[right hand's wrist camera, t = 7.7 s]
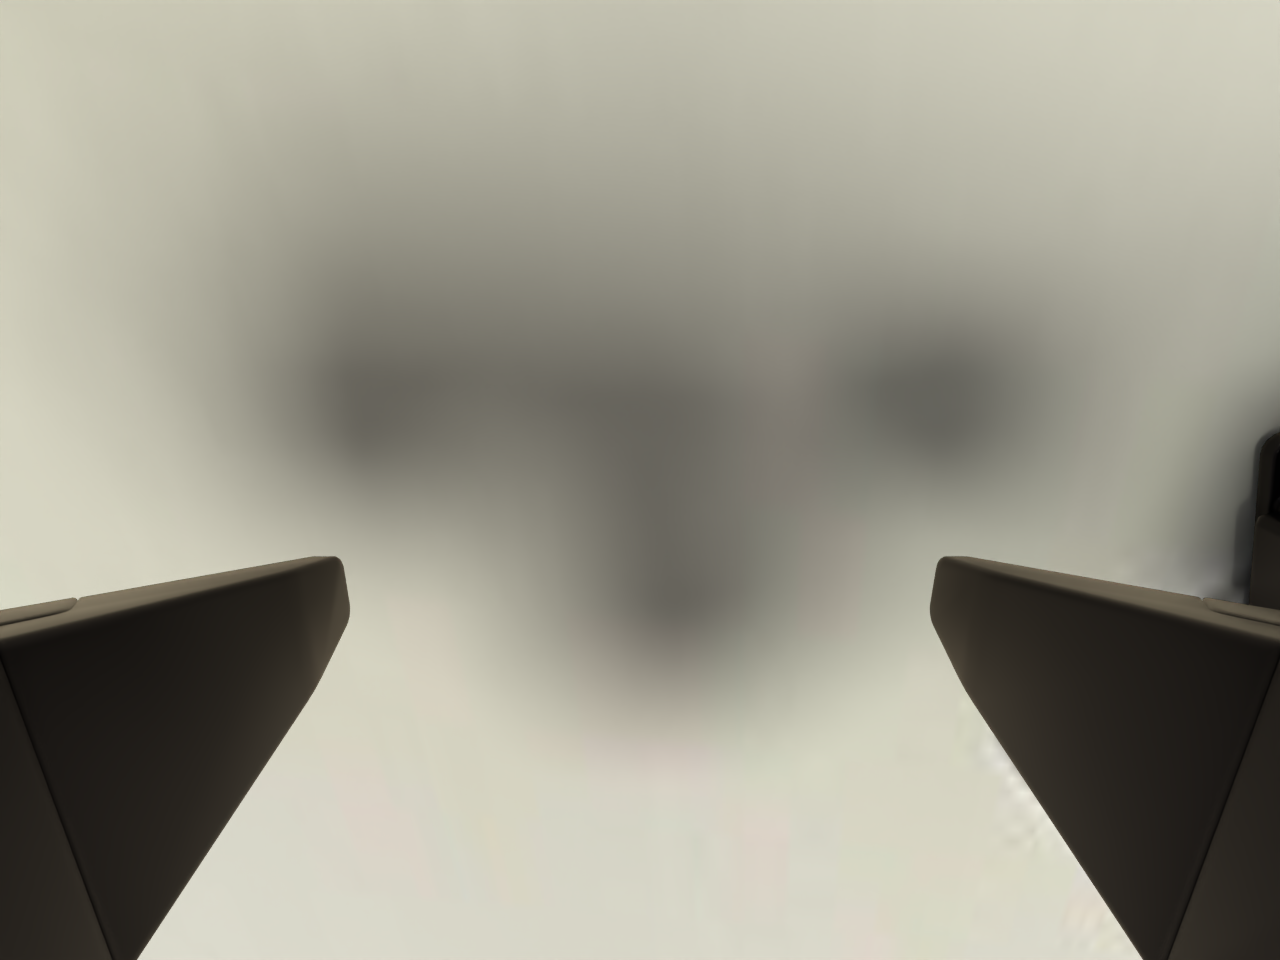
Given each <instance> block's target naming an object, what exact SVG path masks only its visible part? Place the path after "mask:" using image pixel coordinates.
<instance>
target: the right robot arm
mask: <svg viewBox="0 0 1280 960" xmlns="http://www.w3.org/2000/svg"><path fill="white" fill-rule="evenodd" d="M349 616H350V603H349V597H348V591H347V584H346V578H345V572H344V567H343V564H342V562H341V560H340V559H339V558H337V557H335V556H329V557H307V558H301V559H296V560H290V561H284V562H279V563H273V564H267V565H262V566H256V567H250V568H245V569H239V570H233V571H228V572H222V573H216V574H211V575H205V576H199V577H194V578H188V579H182V580H177V581H171V582H165V583H160V584H154V585H148V586H143V587H137V588H131V589H126V590H120V591H114V592H108V593H103V594H97V595H91V596H86V597H81V598H80V599H79V600H77V599H76V598H69V599H63V600H57V601H51V602H46V603H40V604H34V605H28V606H22V607H16V608H10V609H5V610H0V960H137V959H138V957H139V956H140V954H141V953H142V951H143V950H144V948H145V947H146V945H147V944H148V942H149V941H150V939H151V938H152V936H153V935H154V933H155V932H156V930H157V929H158V927H159V926H160V924H161V923H162V921H163V920H164V918H165V916H166V915H167V913H168V912H169V910H170V909H171V907H172V906H173V904H174V903H175V901H176V900H177V898H178V897H179V895H180V894H181V892H182V891H183V889H184V888H185V886H186V885H187V883H188V882H189V880H190V879H191V877H192V876H193V874H194V873H195V871H196V870H197V868H198V867H199V865H200V864H201V862H202V861H203V859H204V857H205V856H206V854H207V853H208V851H209V850H210V848H211V847H212V845H213V844H214V842H215V841H216V839H217V838H218V836H219V835H220V833H221V832H222V830H223V829H224V827H225V826H226V824H227V823H228V821H229V820H230V818H231V817H232V815H233V814H234V812H235V811H236V809H237V808H238V806H239V805H240V803H241V802H242V800H243V798H244V797H245V795H246V794H247V792H248V791H249V789H250V788H251V786H252V785H253V783H254V782H255V780H256V779H257V777H258V776H259V774H260V773H261V771H262V770H263V768H264V767H265V765H266V764H267V762H268V761H269V759H270V758H271V756H272V755H273V753H274V752H275V750H276V749H277V747H278V746H279V744H280V742H281V741H282V739H283V738H284V736H285V735H286V733H287V732H288V730H289V729H290V727H291V726H292V724H293V723H294V721H295V720H296V718H297V717H298V715H299V714H300V712H301V711H302V709H303V708H304V706H305V705H306V703H307V702H308V700H309V698H310V697H311V695H312V694H313V692H314V690H315V689H316V687H317V685H318V683H319V681H320V679H321V677H322V675H323V673H324V671H325V669H326V667H327V665H328V663H329V661H330V659H331V657H332V655H333V653H334V651H335V648H336V646H337V644H338V642H339V640H340V638H341V636H342V634H343V632H344V630H345V628H346V626H347V623H348V620H349ZM930 616H931V620H932V623H933V626H934V628H935V630H936V632H937V634H938V636H939V638H940V640H941V642H942V644H943V646H944V648H945V651H946V653H947V655H948V657H949V659H950V661H951V663H952V665H953V667H954V669H955V671H956V673H957V675H958V677H959V679H960V681H961V683H962V685H963V687H964V689H965V690H966V692H967V694H968V695H969V697H970V698H971V700H972V702H973V703H974V705H975V706H976V708H977V709H978V711H979V712H980V714H981V715H982V717H983V718H984V720H985V721H986V723H987V724H988V726H989V727H990V729H991V730H992V732H993V733H994V735H995V736H996V738H997V739H998V741H999V742H1000V744H1001V745H1002V747H1003V748H1004V750H1005V752H1006V753H1007V755H1008V756H1009V758H1010V759H1011V761H1012V762H1013V764H1014V765H1015V767H1016V768H1017V770H1018V771H1019V773H1020V774H1021V776H1022V777H1023V779H1024V780H1025V782H1026V783H1027V785H1028V786H1029V788H1030V789H1031V791H1032V792H1033V794H1034V795H1035V797H1036V798H1037V800H1038V801H1039V803H1040V804H1041V806H1042V807H1043V809H1044V810H1045V812H1046V813H1047V815H1048V817H1049V818H1050V820H1051V821H1052V823H1053V824H1054V826H1055V827H1056V829H1057V830H1058V832H1059V833H1060V835H1061V836H1062V838H1063V839H1064V841H1065V842H1066V844H1067V845H1068V847H1069V848H1070V850H1071V851H1072V853H1073V854H1074V856H1075V857H1076V859H1077V860H1078V862H1079V863H1080V865H1081V866H1082V868H1083V870H1084V871H1085V873H1086V874H1087V876H1088V877H1089V879H1090V880H1091V882H1092V883H1093V885H1094V886H1095V888H1096V889H1097V891H1098V892H1099V894H1100V895H1101V897H1102V898H1103V900H1104V901H1105V903H1106V904H1107V906H1108V907H1109V909H1110V910H1111V912H1112V913H1113V915H1114V916H1115V918H1116V919H1117V921H1118V923H1119V924H1120V926H1121V927H1122V929H1123V930H1124V932H1125V933H1126V935H1127V936H1128V938H1129V939H1130V941H1131V942H1132V944H1133V945H1134V947H1135V948H1136V950H1137V951H1138V953H1139V954H1140V956H1141V957H1142V959H1143V960H1280V433H1277V434H1275V435H1273V436H1272V437H1271V438H1269V439H1268V440H1267V441H1266V443H1265V444H1264V445H1263V447H1262V450H1261V453H1260V463H1259V477H1258V490H1257V503H1256V516H1255V530H1254V543H1253V556H1252V569H1251V583H1250V596H1249V605H1246V604H1240V603H1234V602H1229V601H1223V600H1217V599H1211V598H1204V599H1203V600H1201V599H1200V598H1199V597H1195V596H1189V595H1183V594H1178V593H1172V592H1166V591H1161V590H1155V589H1149V588H1144V587H1138V586H1132V585H1127V584H1121V583H1115V582H1110V581H1104V580H1098V579H1092V578H1087V577H1081V576H1075V575H1070V574H1064V573H1058V572H1053V571H1047V570H1041V569H1036V568H1030V567H1024V566H1019V565H1013V564H1007V563H1001V562H996V561H990V560H984V559H979V558H973V557H964V556H945V557H943V558H941V559H940V560H939V562H938V564H937V567H936V572H935V578H934V584H933V591H932V597H931V603H930Z"/></svg>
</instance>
